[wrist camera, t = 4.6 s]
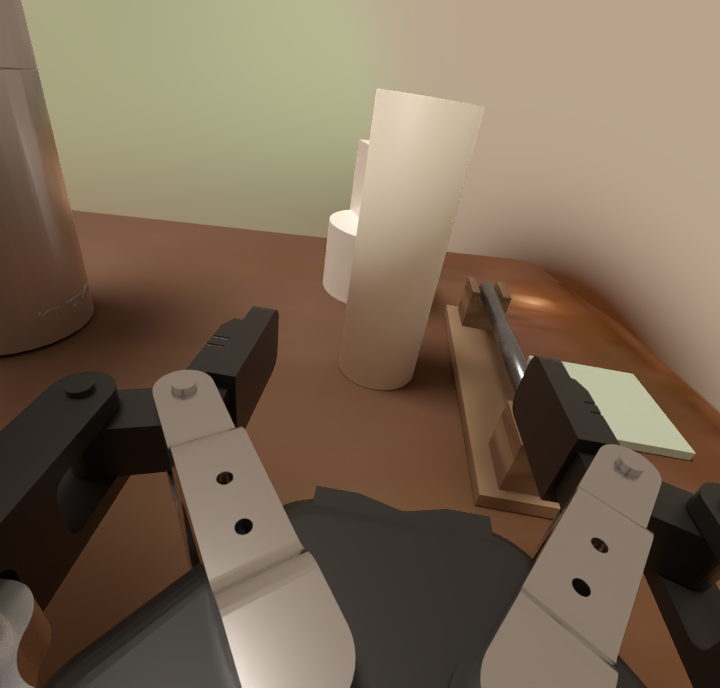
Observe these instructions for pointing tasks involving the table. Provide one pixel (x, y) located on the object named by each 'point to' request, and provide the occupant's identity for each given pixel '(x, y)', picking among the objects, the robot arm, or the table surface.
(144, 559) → the table surface
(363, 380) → the tall cream cylinder
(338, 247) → the cylinder with rectangular tab
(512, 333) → the metal rod
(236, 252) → the table surface
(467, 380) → the rail stand
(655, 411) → the sage mat
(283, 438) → the table surface
